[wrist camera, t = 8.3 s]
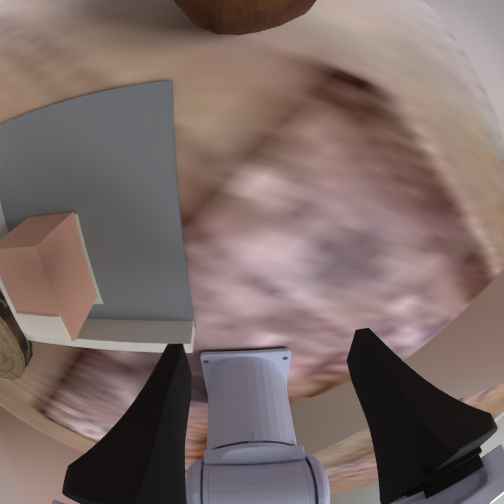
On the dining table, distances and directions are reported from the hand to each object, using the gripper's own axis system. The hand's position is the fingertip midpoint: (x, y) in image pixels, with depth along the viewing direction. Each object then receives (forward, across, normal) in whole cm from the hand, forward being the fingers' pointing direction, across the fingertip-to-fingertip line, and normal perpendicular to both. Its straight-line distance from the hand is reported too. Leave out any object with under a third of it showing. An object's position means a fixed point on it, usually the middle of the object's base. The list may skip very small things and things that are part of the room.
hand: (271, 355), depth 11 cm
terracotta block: (+9, +14, 0) cm, 17 cm away
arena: (+9, +13, -2) cm, 16 cm away
